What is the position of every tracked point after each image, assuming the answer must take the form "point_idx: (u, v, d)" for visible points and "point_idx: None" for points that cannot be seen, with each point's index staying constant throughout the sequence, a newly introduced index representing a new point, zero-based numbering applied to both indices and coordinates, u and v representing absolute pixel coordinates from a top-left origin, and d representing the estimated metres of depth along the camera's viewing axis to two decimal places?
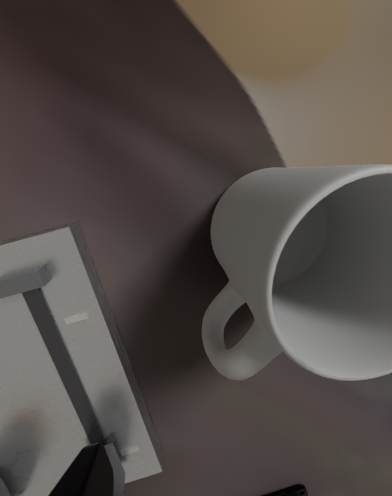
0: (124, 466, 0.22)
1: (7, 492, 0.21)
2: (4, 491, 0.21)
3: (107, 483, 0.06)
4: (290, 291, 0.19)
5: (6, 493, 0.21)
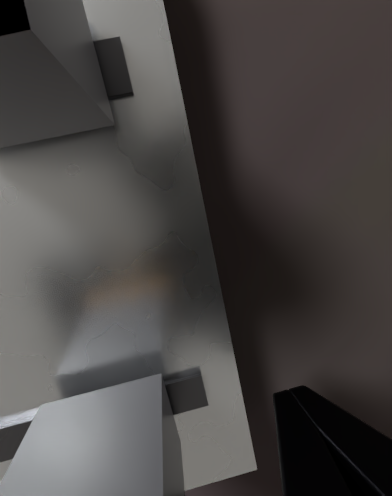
0: None
1: (89, 395, 0.07)
2: (75, 403, 0.07)
3: None
4: None
5: (86, 399, 0.07)
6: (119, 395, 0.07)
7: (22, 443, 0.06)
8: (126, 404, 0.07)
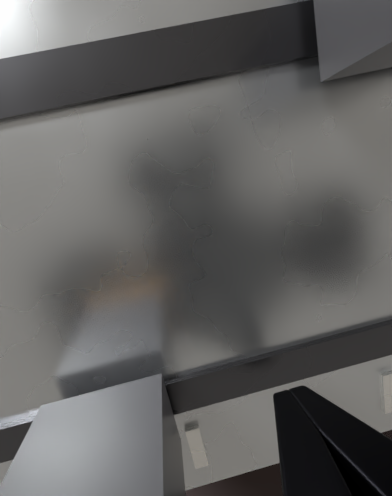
0: None
1: (89, 395, 0.07)
2: (75, 404, 0.07)
3: None
4: None
5: (87, 399, 0.07)
6: (119, 395, 0.07)
7: (23, 444, 0.06)
8: (126, 404, 0.07)
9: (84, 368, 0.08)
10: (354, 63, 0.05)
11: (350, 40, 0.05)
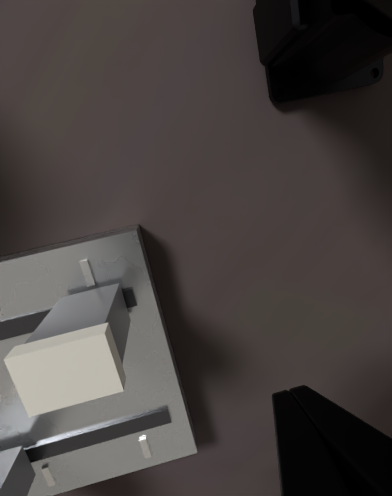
0: (119, 282, 0.16)
1: None
2: None
3: None
4: None
5: None
6: (0, 456, 0.16)
7: None
8: (1, 461, 0.16)
9: None
10: None
11: None
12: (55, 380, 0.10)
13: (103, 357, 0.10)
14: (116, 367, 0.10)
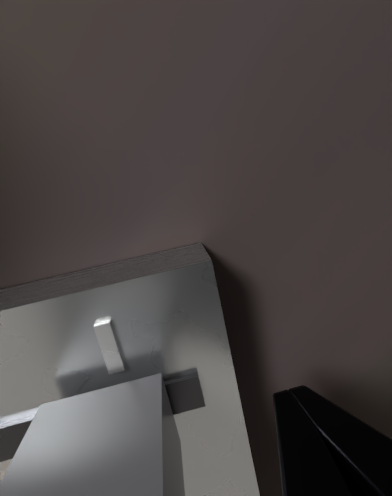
0: (171, 361, 0.08)
1: None
2: None
3: None
4: None
5: None
6: None
7: None
8: None
9: None
10: None
11: None
12: None
13: None
14: None
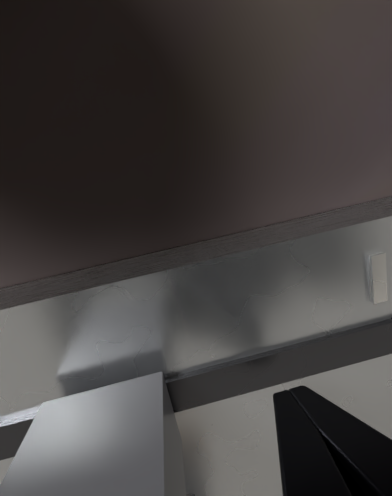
0: None
1: None
2: None
3: None
4: None
5: None
6: None
7: None
8: None
9: None
10: None
11: None
12: None
13: None
14: None
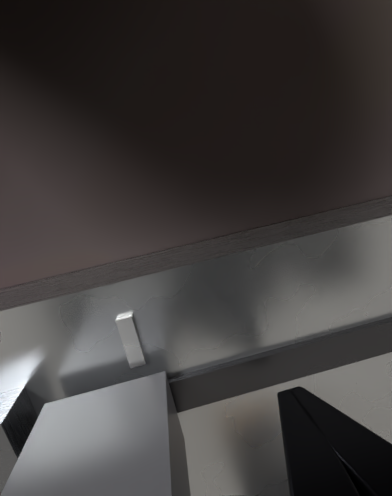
0: None
1: None
2: None
3: None
4: None
5: None
6: None
7: None
8: None
9: None
10: None
11: None
12: None
13: None
14: None
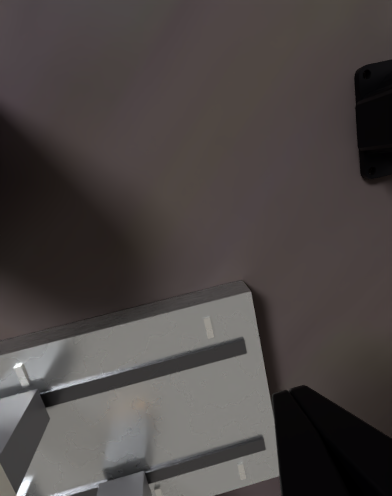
0: (232, 333, 0.18)
1: (116, 480, 0.19)
2: (112, 483, 0.19)
3: None
4: None
5: (116, 482, 0.19)
6: (128, 481, 0.19)
7: None
8: (130, 485, 0.19)
9: (114, 467, 0.20)
10: None
11: None
12: None
13: None
14: None
